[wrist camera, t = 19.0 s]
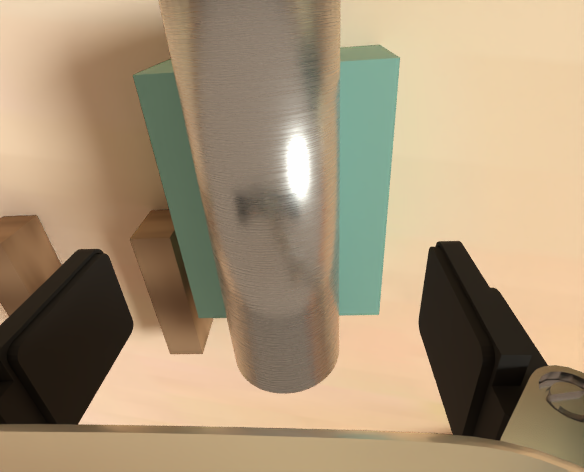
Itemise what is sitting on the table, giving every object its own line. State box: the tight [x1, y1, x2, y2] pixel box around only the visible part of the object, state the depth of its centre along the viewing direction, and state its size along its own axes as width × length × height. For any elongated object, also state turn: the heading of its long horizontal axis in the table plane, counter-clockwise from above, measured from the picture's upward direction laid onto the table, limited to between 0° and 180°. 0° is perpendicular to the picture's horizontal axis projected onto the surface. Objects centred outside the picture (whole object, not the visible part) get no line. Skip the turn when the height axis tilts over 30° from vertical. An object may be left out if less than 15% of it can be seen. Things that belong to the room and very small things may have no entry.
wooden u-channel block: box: [0, 210, 213, 354], centre depth 26 cm, size 10×13×4 cm
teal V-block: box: [133, 45, 400, 318], centre depth 21 cm, size 14×11×5 cm
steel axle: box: [158, 0, 340, 393], centre depth 17 cm, size 18×6×6 cm, turn 4°
